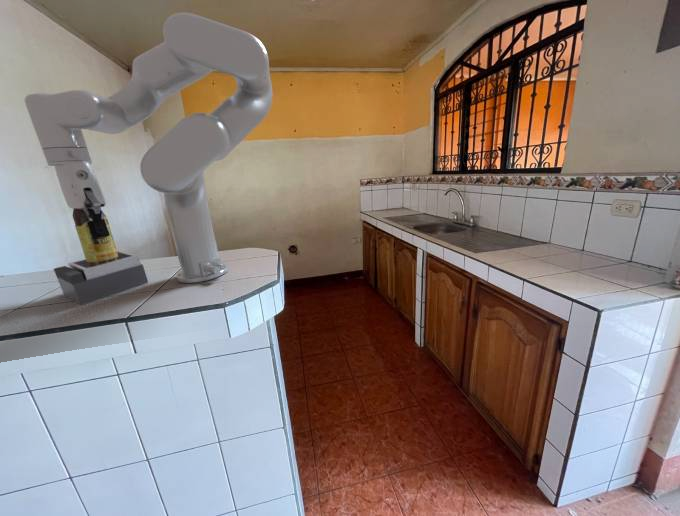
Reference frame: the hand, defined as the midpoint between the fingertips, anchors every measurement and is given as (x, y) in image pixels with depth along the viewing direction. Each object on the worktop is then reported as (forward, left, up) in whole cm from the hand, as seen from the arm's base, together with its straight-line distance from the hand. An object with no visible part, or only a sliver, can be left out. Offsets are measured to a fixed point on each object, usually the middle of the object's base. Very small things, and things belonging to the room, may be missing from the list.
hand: (95, 235), depth 70 cm
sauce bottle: (0, 0, -8) cm, 8 cm away
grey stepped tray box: (0, +1, -14) cm, 14 cm away
